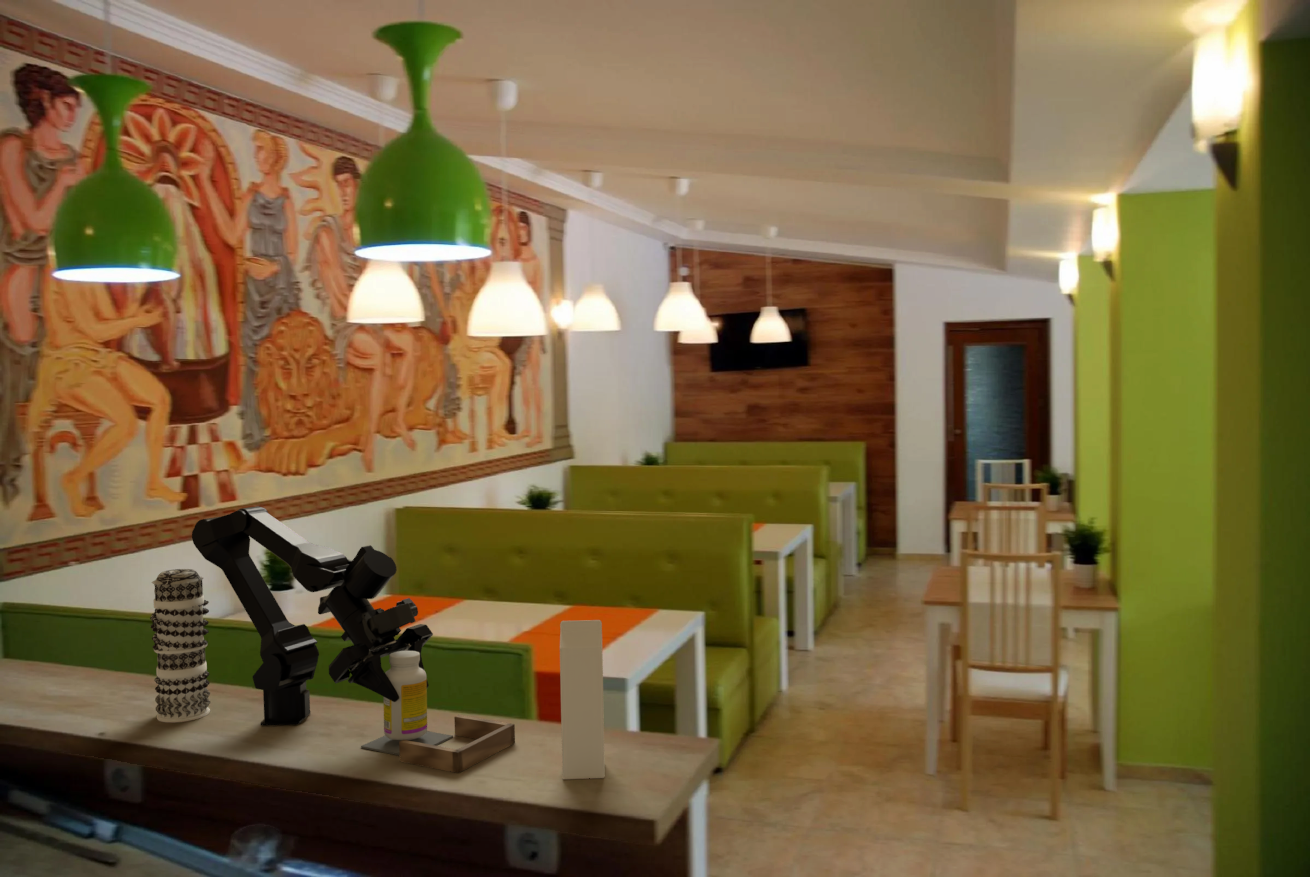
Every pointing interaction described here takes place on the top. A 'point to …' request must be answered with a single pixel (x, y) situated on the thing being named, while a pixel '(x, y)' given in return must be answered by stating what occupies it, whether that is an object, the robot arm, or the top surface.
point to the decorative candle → (180, 646)
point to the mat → (393, 745)
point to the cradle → (487, 744)
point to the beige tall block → (582, 699)
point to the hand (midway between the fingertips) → (412, 694)
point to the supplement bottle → (406, 698)
